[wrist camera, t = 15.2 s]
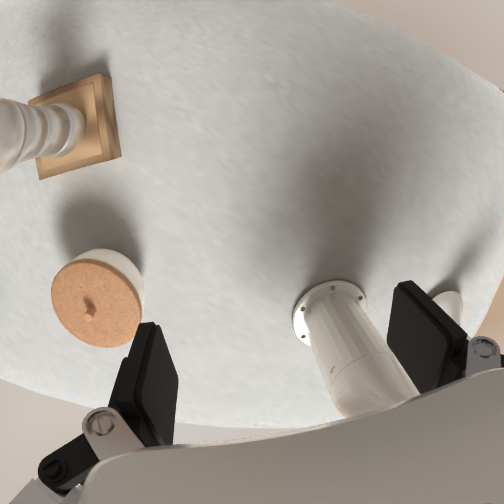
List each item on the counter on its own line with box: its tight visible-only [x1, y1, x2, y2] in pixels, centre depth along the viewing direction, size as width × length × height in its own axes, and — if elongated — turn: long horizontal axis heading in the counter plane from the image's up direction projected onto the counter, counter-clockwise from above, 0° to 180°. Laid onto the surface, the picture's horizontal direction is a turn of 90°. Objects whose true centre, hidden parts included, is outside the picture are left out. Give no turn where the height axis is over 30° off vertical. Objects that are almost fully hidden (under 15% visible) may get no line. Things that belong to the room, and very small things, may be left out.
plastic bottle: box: [0, 98, 85, 173], centre depth 21 cm, size 6×7×20 cm
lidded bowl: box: [51, 249, 145, 348], centre depth 37 cm, size 13×13×11 cm
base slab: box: [28, 73, 122, 180], centre depth 32 cm, size 11×11×4 cm
